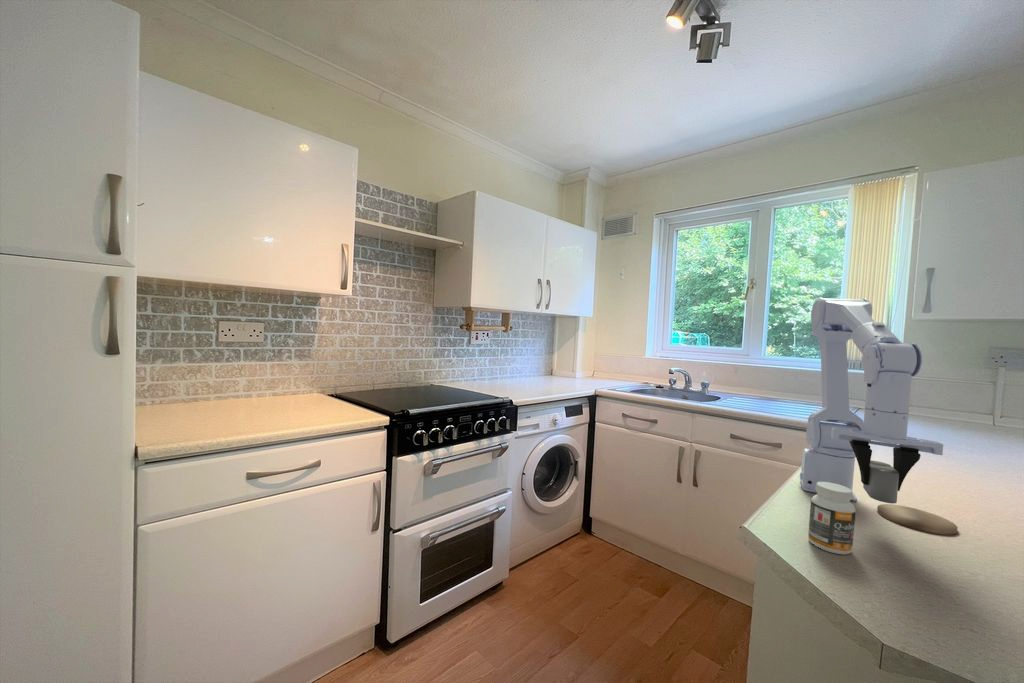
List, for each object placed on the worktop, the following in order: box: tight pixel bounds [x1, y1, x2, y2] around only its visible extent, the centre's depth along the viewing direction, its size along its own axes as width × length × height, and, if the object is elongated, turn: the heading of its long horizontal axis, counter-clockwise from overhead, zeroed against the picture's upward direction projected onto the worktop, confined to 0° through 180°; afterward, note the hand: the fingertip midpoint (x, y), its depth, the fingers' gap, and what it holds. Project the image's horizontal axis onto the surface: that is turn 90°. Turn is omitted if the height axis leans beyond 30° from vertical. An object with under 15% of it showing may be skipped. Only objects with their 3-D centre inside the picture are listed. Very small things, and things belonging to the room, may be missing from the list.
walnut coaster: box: [876, 503, 958, 536], centre depth 79 cm, size 11×11×1 cm
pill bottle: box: [807, 482, 856, 555], centre depth 66 cm, size 6×6×10 cm
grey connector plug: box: [862, 460, 899, 505], centre depth 73 cm, size 11×4×5 cm, turn 148°
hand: (879, 486), depth 72 cm, fingers closed on grey connector plug, 3 cm apart
